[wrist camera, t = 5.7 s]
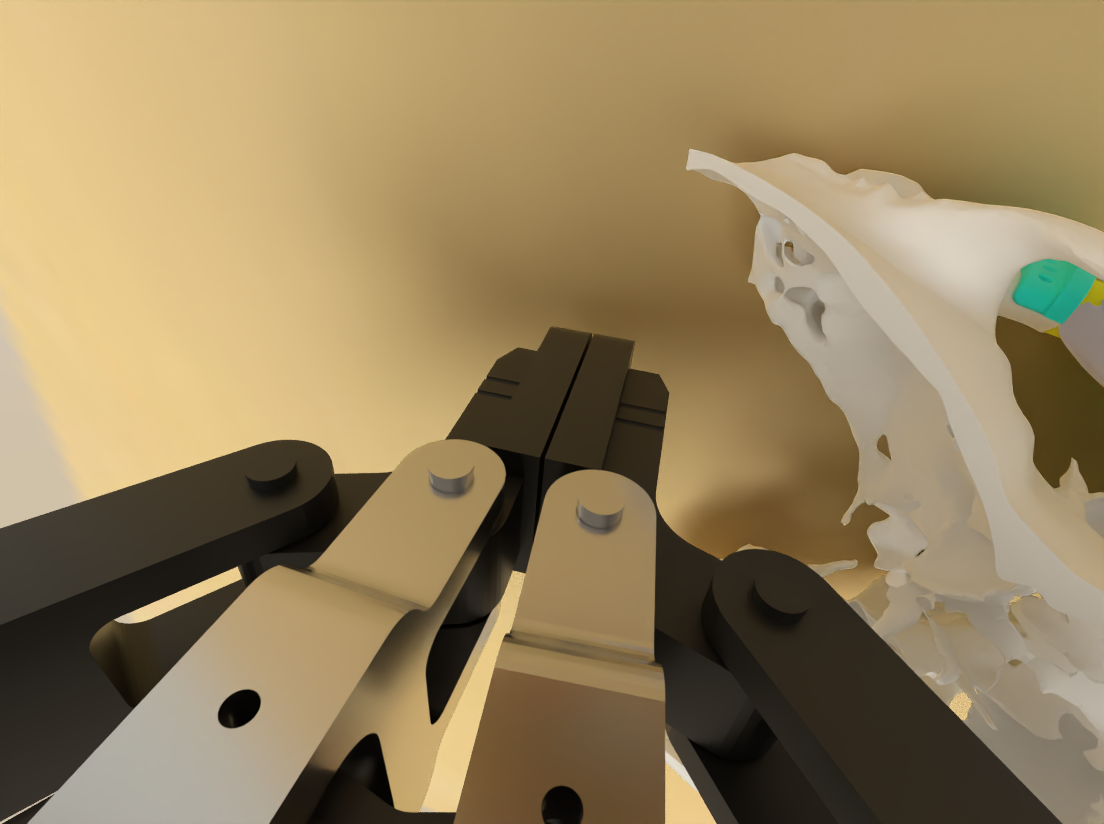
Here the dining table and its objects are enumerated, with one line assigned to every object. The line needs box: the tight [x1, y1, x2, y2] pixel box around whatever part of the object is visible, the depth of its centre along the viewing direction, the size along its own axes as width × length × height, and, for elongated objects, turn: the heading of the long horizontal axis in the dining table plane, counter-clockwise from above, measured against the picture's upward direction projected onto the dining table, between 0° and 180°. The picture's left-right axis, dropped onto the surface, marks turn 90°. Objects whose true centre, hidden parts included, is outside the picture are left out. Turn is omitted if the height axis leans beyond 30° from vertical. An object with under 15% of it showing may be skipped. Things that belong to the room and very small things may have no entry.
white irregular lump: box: [665, 149, 1104, 824], centre depth 10 cm, size 12×9×10 cm
